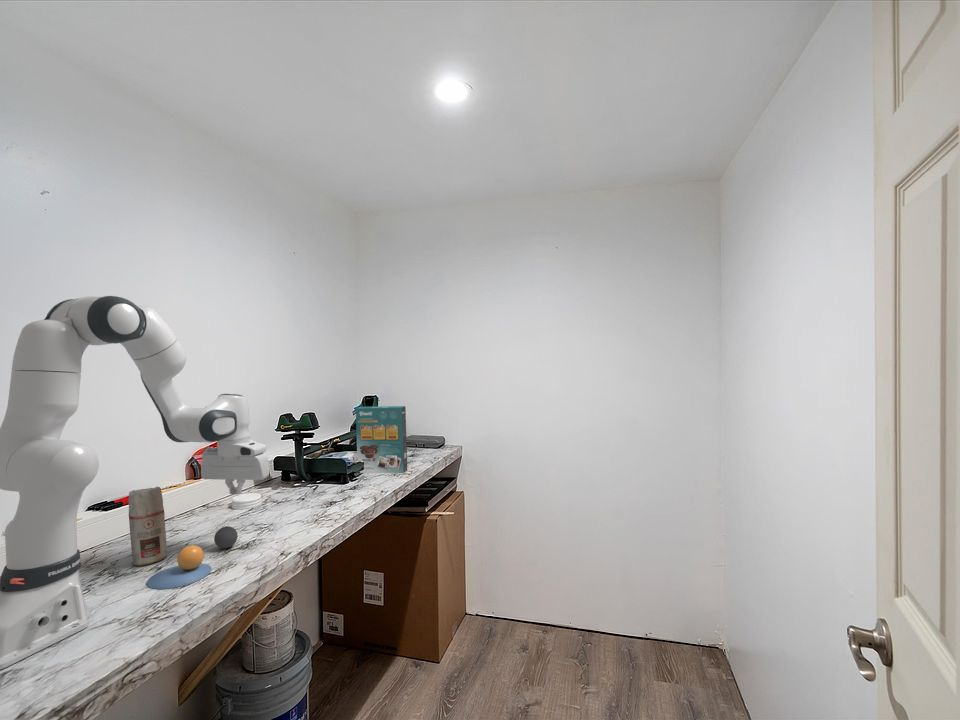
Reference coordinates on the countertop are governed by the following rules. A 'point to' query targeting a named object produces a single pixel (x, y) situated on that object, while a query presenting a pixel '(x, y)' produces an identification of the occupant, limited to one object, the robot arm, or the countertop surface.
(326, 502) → the countertop surface
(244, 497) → the coaster
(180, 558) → the orange ball
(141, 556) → the beige paper tall bag
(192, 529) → the countertop surface
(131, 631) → the countertop surface
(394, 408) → the cake mix box
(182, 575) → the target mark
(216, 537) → the black ball
